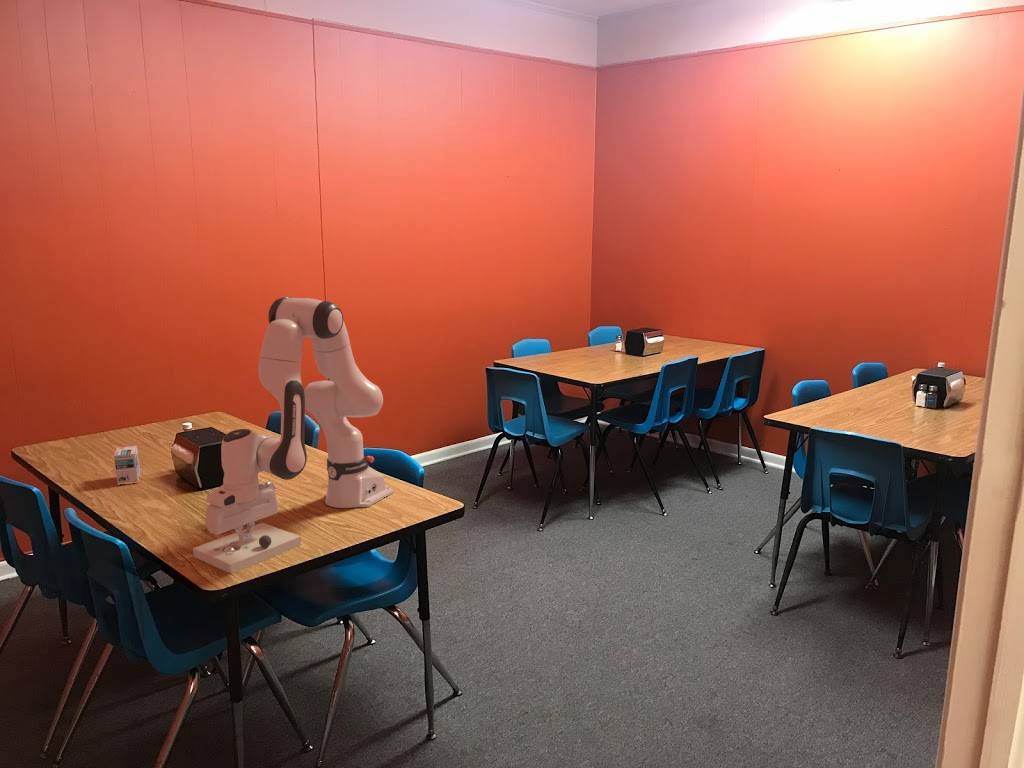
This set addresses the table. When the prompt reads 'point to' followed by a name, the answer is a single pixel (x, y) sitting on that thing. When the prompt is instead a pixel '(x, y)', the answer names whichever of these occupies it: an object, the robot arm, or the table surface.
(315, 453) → the table surface
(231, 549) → the steel ball
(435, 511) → the table surface
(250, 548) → the board
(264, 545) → the black rubber ball
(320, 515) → the table surface
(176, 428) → the table surface
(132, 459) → the light bulb box
